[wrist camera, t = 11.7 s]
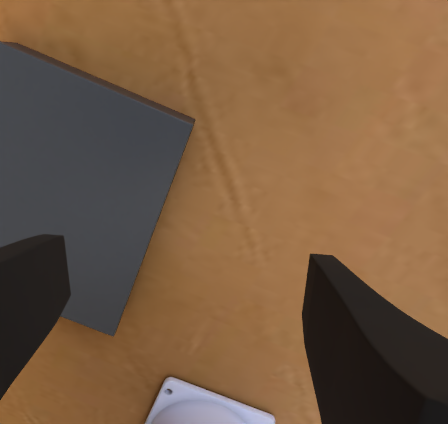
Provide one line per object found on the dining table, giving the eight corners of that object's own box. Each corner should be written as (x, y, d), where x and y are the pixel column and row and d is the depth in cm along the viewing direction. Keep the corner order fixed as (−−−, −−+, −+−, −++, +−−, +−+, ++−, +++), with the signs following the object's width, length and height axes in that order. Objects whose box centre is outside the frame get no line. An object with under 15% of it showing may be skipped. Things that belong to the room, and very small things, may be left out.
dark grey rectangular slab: (127, 310, 25) (113, 337, 22) (-26, 251, 24) (-57, 271, 22) (200, 117, 20) (193, 125, 18) (12, 36, 19) (-21, 33, 17)
